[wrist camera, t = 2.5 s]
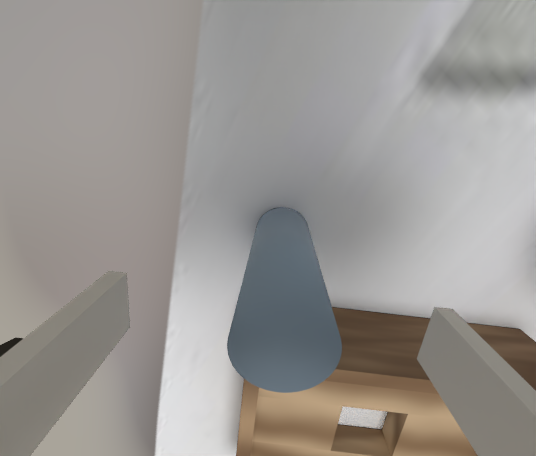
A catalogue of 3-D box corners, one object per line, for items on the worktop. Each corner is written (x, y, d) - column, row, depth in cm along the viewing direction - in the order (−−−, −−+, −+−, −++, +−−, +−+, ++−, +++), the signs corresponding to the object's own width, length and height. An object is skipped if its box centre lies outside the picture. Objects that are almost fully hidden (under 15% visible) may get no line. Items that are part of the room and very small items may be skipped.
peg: (258, 204, 20) (231, 294, 9) (312, 210, 20) (352, 307, 9) (253, 253, 22) (224, 385, 10) (304, 259, 22) (330, 398, 10)
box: (255, 298, 23) (246, 358, 17) (520, 329, 23) (608, 401, 17) (239, 446, 29) (228, 530, 23) (450, 471, 29) (496, 563, 23)
